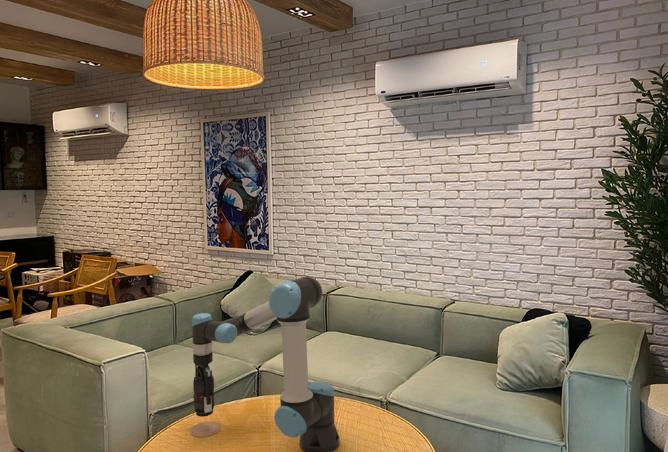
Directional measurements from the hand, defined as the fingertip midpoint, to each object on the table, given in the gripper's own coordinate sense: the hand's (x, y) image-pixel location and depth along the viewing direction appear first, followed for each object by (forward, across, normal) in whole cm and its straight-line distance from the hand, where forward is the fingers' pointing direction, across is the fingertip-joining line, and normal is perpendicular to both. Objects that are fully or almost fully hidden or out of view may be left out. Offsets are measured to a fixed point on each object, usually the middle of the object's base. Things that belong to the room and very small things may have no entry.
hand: (204, 407), depth 201 cm
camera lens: (+2, 0, 0) cm, 2 cm away
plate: (+9, 0, 0) cm, 9 cm away
